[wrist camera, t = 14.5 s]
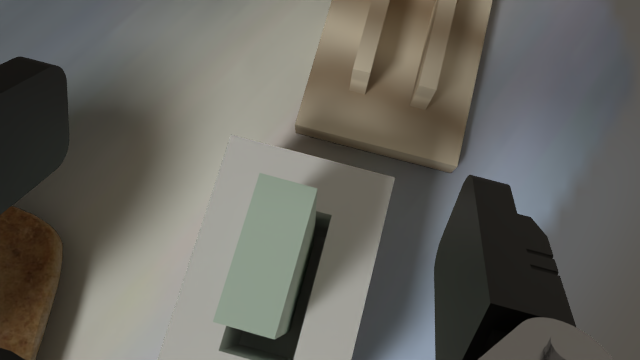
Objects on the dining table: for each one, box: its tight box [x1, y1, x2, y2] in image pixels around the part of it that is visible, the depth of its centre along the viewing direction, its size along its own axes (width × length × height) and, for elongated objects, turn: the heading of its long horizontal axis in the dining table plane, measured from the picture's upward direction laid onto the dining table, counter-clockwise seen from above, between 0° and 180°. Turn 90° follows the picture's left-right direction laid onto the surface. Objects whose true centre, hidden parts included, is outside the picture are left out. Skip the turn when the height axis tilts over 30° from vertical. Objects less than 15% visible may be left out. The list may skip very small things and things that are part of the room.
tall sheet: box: [213, 173, 317, 340], centre depth 24 cm, size 5×2×14 cm, turn 165°
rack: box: [295, 0, 493, 173], centre depth 34 cm, size 18×10×4 cm, turn 165°
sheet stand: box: [158, 135, 395, 360], centre depth 28 cm, size 12×8×8 cm, turn 165°
